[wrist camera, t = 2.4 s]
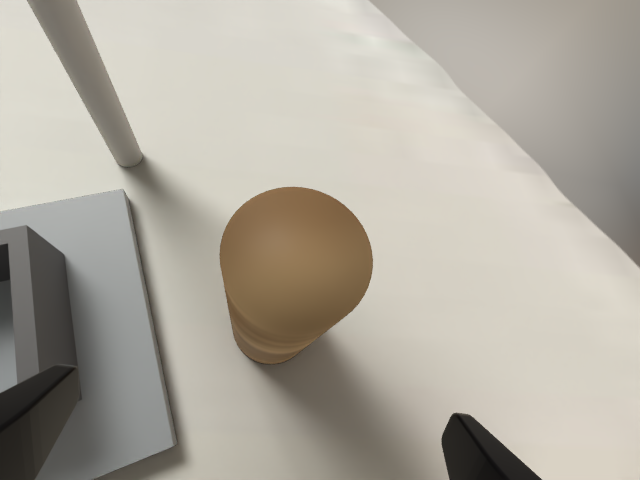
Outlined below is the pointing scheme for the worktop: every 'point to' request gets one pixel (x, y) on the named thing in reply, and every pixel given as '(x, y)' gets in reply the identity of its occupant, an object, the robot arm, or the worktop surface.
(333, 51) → the worktop surface
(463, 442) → the robot arm
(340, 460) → the worktop surface
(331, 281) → the tan domed cylinder
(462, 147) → the worktop surface
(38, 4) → the awning socket
